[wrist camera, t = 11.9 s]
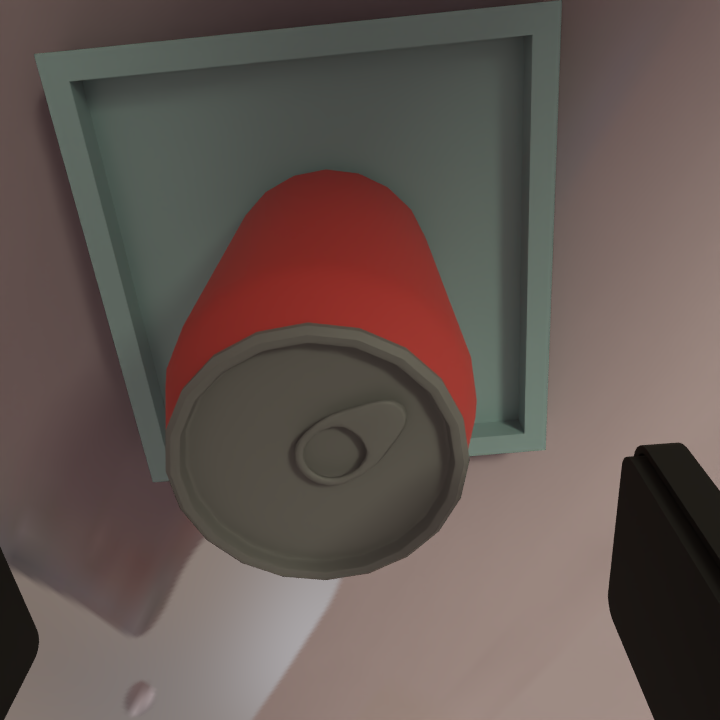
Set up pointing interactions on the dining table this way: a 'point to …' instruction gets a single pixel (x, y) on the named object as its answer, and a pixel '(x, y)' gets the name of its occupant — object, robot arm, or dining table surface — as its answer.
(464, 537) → the dining table surface
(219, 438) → the beer can
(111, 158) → the slate tray
